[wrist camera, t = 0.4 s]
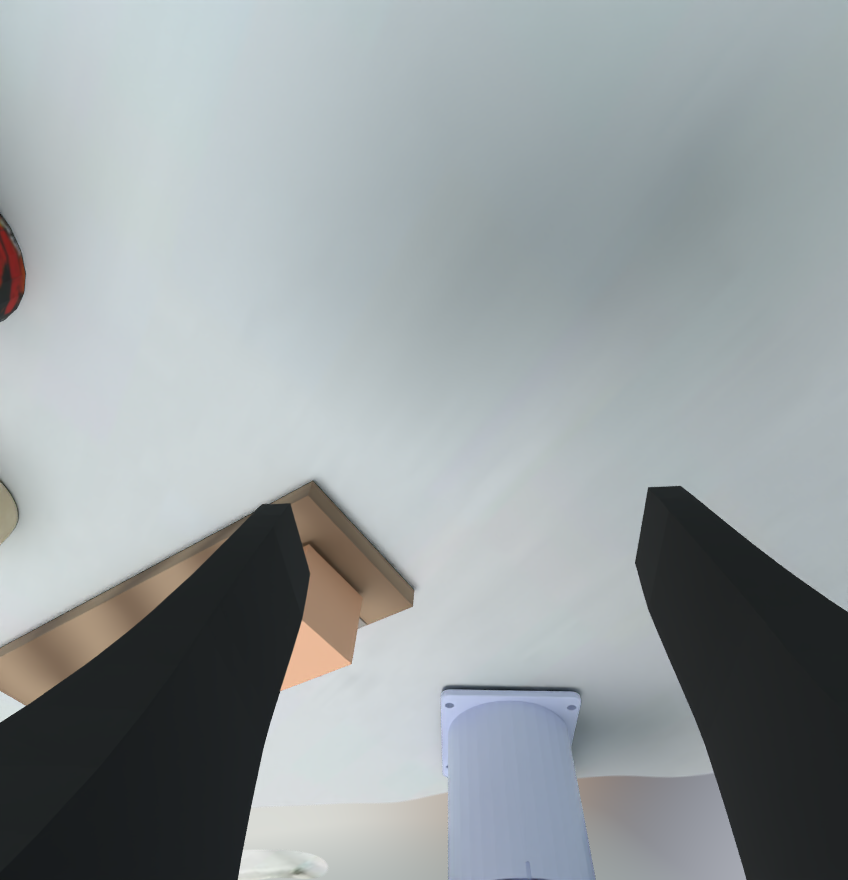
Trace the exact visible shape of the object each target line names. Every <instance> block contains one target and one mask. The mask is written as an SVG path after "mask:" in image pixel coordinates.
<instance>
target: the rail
mask: <svg viewBox="0 0 848 880" xmlns="http://www.w3.org/2000/svg"><path fill="white" fill-rule="evenodd" d="M284 503H290V504H291V507H292V511H293V514H294V518H295V521H296V525H297V528H298V532H299V535H300V539H301V542H302V546H303V547H304V546H306V545H308V544H309V545H310V546H311V547H312V548H313V549H314V550H315V551H316V552H317V553H318V554H319V555H320V556H321V557H322V558H323V559H324V560H325V561H326V562H327V563H328V564H329V565H330V566H331V567H332V568H333V569H334V570H335V571H336V572H337V573H338V574H340V575H341V576H342V577H343V578H344V579H345V580H346V581H347V582H348V583H349V584H350V585H351V586H352V587H353V588H354V589H355V590H356V591H357V592H358V593H359V594H360V595H361V596H362V597H363V600H362V606H361V611H360V617H359V623H358V629H359V628H361V627H364V626H366V625H368V624H371V623H373V622H376V621H378V620H381V619H383V618H386V617H388V616H391V615H393V614H396V613H398V612H401V611H403V610H405V609H408V608H410V607H413V599H414V590H413V589H412V588H411V587H410V585H409V584H408V583H407V582H406V581H405V580H404V579H403V578H402V577H401V576H400V575H399V574H398V572H397V571H396V570H395V569H394V568H393V567H392V566H391V565H390V564H389V563H388V562H387V561H386V560H385V558H384V557H383V556H382V555H381V554H380V553H379V552H378V551H377V550H376V549H375V548H374V547H373V545H372V544H371V543H370V542H369V541H368V540H367V539H366V538H365V537H364V536H363V535H362V534H361V532H360V531H359V530H358V529H357V528H356V527H355V526H354V525H353V524H352V523H351V522H350V521H349V519H348V518H347V517H346V516H345V515H344V514H343V513H342V512H341V511H340V510H339V509H338V508H337V506H336V505H335V504H334V503H333V502H332V501H331V500H330V499H329V498H328V497H327V496H326V495H325V493H324V492H323V491H322V490H321V489H320V488H319V487H318V486H317V485H316V484H315V483H314V482H313V481H312V482H310V483H308V484H306V485H304V486H303V487H301V488H299V489H297V490H295V491H293V492H291V493H289V494H288V495H286V496H284V497H282V498H280V499H278V500H276V501H275V502H273V503H271V504H284ZM252 514H253V513H252ZM252 514H250V515H248V516H246V517H245V518H243V519H241V520H239V521H237V522H235V523H233V524H231V525H230V526H228V527H226V528H224V529H222V530H220V531H218V532H217V533H215V534H213V535H211V536H209V537H207V538H205V539H203V540H202V541H200V542H198V543H196V544H194V545H192V546H190V547H188V548H187V549H185V550H183V551H181V552H179V553H177V554H175V555H173V556H172V557H170V558H168V559H166V560H164V561H162V562H160V563H158V564H157V565H155V566H153V567H151V568H149V569H147V570H145V571H144V572H142V573H140V574H138V575H136V576H134V577H132V578H130V579H129V580H127V581H125V582H123V583H121V584H119V585H117V586H115V587H114V588H112V589H110V590H108V591H106V592H104V593H102V594H100V595H99V596H97V597H95V598H93V599H91V600H89V601H87V602H86V603H84V604H82V605H80V606H78V607H76V608H74V609H72V610H71V611H69V612H67V613H65V614H63V615H61V616H59V617H57V618H56V619H54V620H52V621H50V622H48V623H46V624H44V625H42V626H41V627H39V628H37V629H35V630H33V631H31V632H29V633H28V634H26V635H24V636H22V637H20V638H18V639H16V640H14V641H13V642H11V643H9V644H7V645H5V646H3V647H1V648H0V691H1V692H3V693H5V694H7V695H8V696H10V697H12V698H14V699H15V700H17V701H19V702H21V703H22V704H24V705H26V706H27V705H28V704H30V703H31V702H33V701H34V700H35V699H37V698H38V697H40V696H41V695H43V694H44V693H45V692H47V691H48V690H50V689H51V688H53V687H54V686H55V685H57V684H58V683H60V682H61V681H63V680H64V679H65V678H67V677H68V676H70V675H71V674H73V673H74V672H75V671H77V670H78V669H80V668H81V667H83V666H84V665H85V664H87V663H88V662H89V661H91V660H92V659H93V658H95V657H96V656H97V655H99V654H100V653H101V652H102V651H104V650H105V649H106V648H108V647H109V646H110V645H111V644H113V643H114V642H115V641H116V640H118V639H119V638H120V637H122V636H123V635H124V634H125V633H126V632H128V631H129V630H130V629H131V628H133V627H134V626H135V625H136V624H137V623H139V622H140V621H141V620H142V619H143V618H144V617H146V616H147V615H148V614H149V613H150V612H151V611H152V610H153V609H155V608H156V607H157V606H158V605H159V604H160V603H161V602H162V601H163V600H164V599H166V598H167V597H168V596H169V595H170V594H171V593H172V592H173V591H174V590H175V589H177V588H178V587H179V586H180V585H181V584H182V583H183V582H184V581H185V580H186V579H188V578H189V577H190V576H191V575H192V574H193V573H194V572H195V571H196V570H197V569H198V568H199V567H200V566H201V565H202V564H203V563H204V562H205V561H206V560H207V559H208V558H209V557H210V556H211V555H212V554H213V553H214V552H215V551H216V550H217V549H218V548H219V547H220V546H221V545H222V544H223V543H224V542H225V541H226V540H227V539H228V538H229V537H230V536H231V535H232V534H233V533H234V532H235V531H236V530H237V529H238V528H239V527H240V526H241V525H242V524H243V523H244V522H245V521H246V520H247V519H248V518H249V517H250V516H251V515H252Z"/></svg>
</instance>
